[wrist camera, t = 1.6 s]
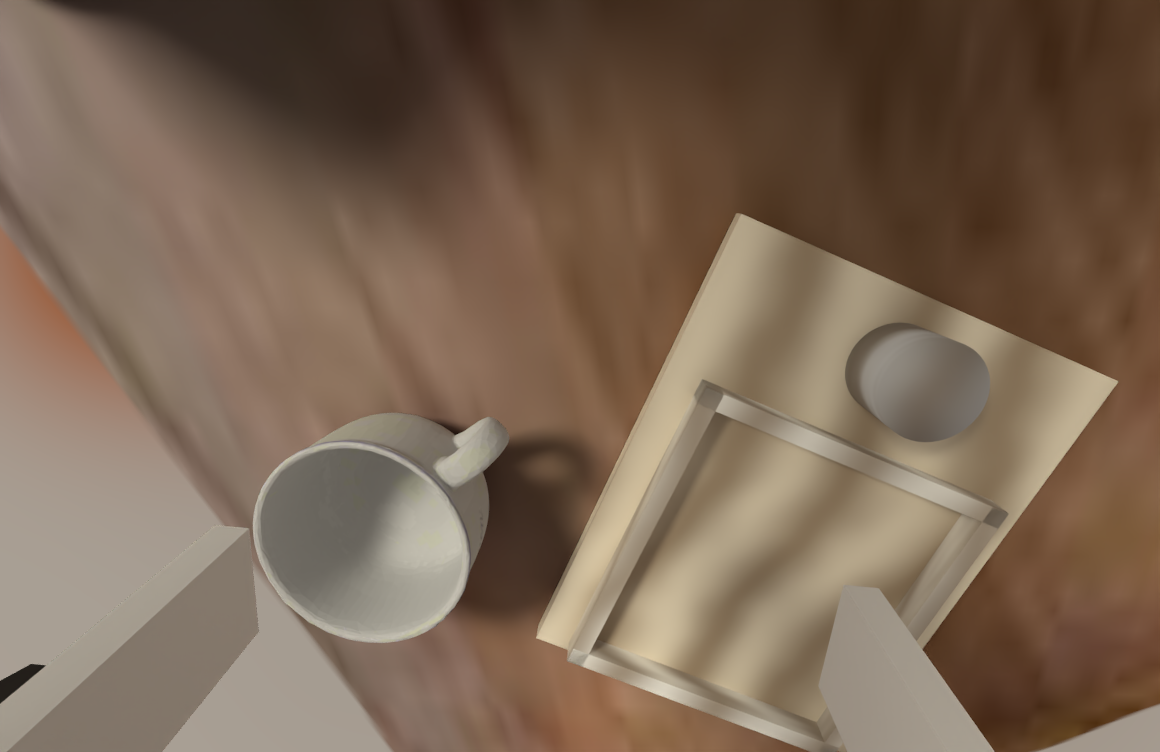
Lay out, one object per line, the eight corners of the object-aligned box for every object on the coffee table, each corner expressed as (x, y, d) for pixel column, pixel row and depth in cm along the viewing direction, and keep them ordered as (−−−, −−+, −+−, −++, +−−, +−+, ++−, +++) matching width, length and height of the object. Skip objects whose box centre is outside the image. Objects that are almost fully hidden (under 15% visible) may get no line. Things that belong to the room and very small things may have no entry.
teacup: (387, 578, 38) (332, 675, 30) (287, 440, 35) (198, 507, 27) (577, 489, 35) (570, 569, 28) (484, 333, 33) (447, 374, 25)
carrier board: (538, 624, 38) (528, 688, 33) (736, 213, 30) (762, 215, 25) (838, 737, 40) (872, 814, 35) (1100, 374, 32) (1191, 407, 27)
